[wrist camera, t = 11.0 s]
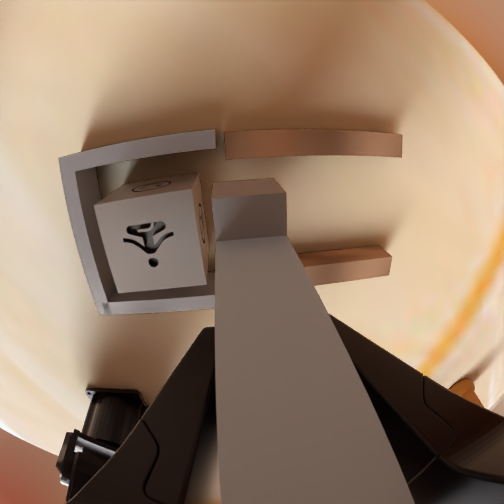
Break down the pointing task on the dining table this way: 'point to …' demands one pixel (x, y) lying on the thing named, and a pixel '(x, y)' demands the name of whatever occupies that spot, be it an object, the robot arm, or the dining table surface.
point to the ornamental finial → (466, 391)
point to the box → (89, 237)
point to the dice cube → (155, 234)
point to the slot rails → (323, 143)
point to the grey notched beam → (286, 372)
